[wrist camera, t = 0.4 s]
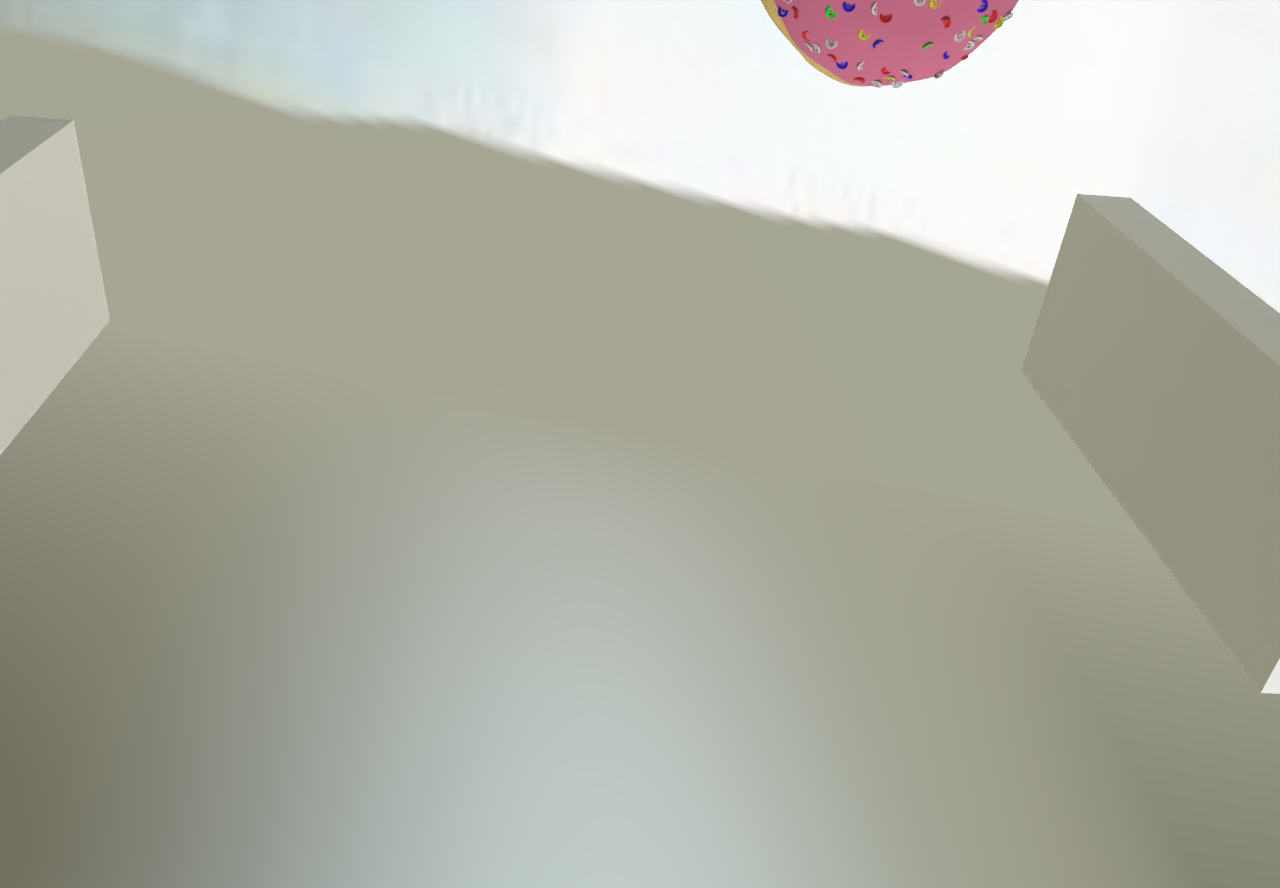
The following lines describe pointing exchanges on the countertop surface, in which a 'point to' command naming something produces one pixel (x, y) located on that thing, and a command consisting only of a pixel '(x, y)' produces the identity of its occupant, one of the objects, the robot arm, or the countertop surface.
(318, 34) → the countertop surface
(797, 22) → the cupcake
